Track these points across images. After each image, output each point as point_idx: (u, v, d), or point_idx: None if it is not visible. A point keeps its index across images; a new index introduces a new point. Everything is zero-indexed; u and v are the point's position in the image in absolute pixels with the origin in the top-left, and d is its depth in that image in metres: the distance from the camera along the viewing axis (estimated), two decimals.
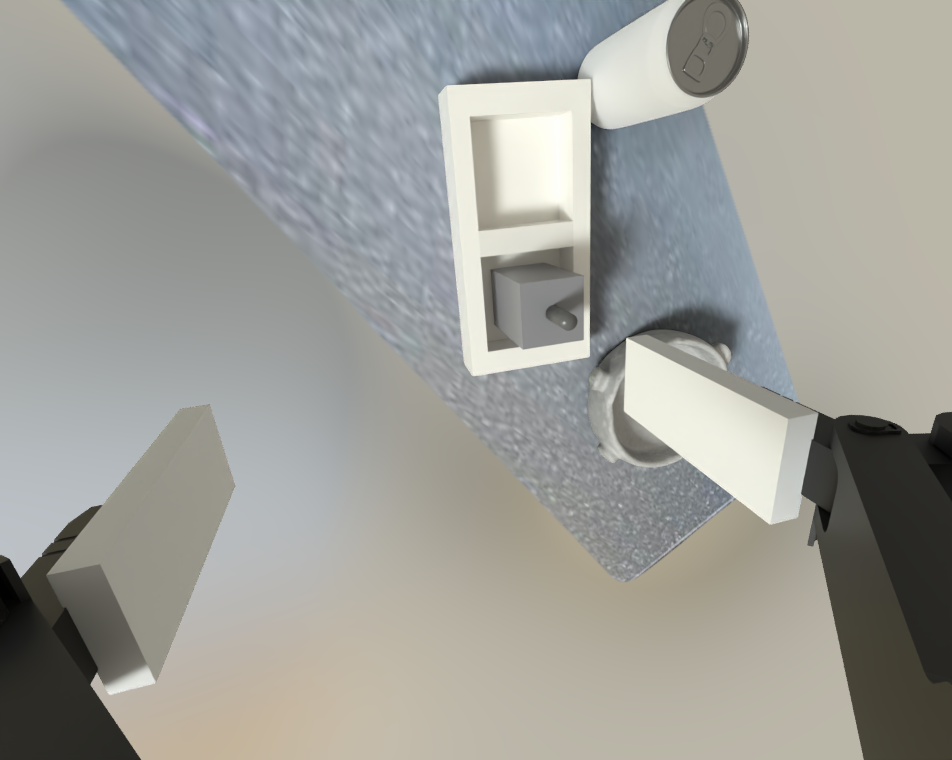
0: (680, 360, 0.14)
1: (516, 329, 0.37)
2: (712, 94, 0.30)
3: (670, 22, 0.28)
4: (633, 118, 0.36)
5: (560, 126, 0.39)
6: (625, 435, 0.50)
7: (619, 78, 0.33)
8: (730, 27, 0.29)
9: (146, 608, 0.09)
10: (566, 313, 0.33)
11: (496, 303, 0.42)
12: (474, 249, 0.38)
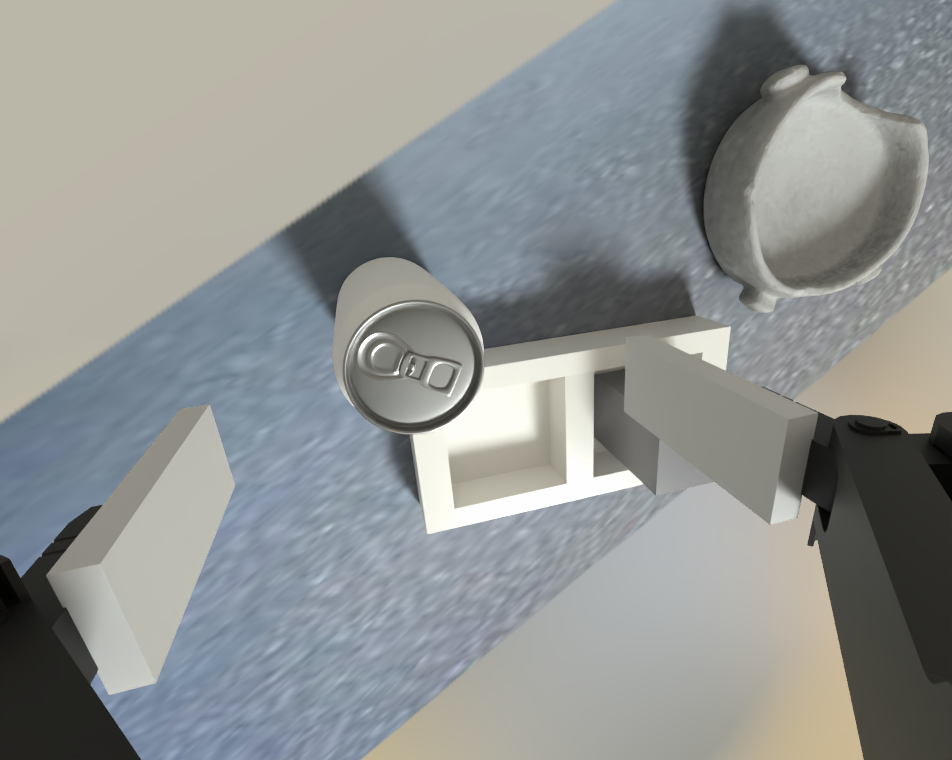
0: (680, 360, 0.14)
1: None
2: (480, 347, 0.19)
3: (392, 427, 0.20)
4: None
5: None
6: (844, 237, 0.34)
7: None
8: (386, 332, 0.19)
9: (146, 608, 0.09)
10: None
11: None
12: (584, 485, 0.34)
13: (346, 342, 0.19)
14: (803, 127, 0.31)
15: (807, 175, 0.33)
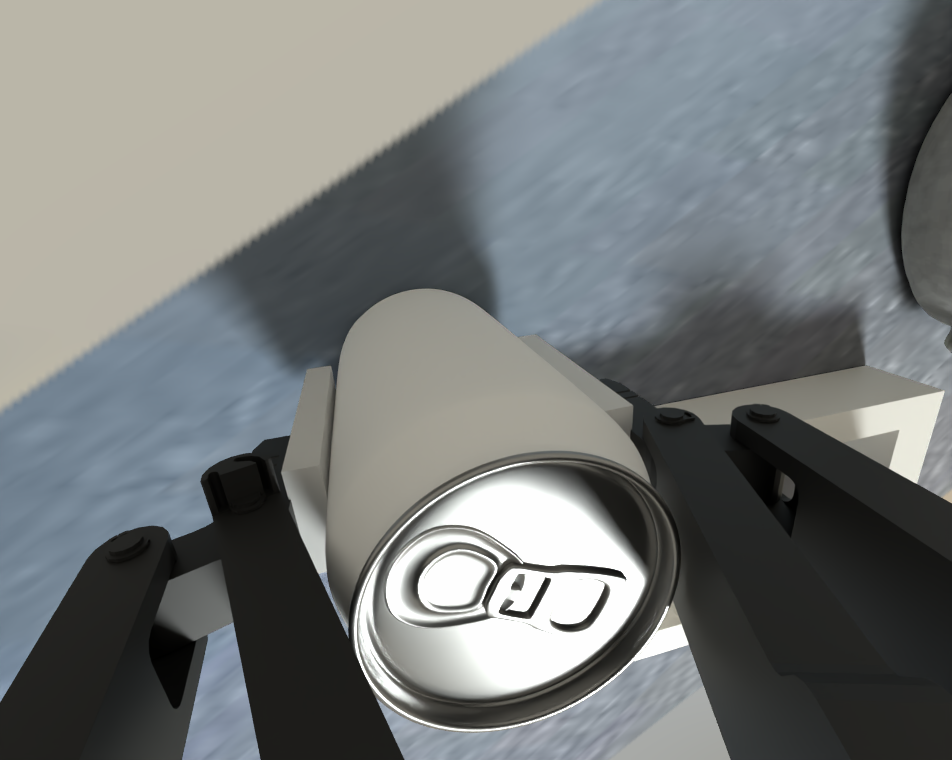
0: (548, 358, 0.15)
1: None
2: (676, 543, 0.08)
3: (462, 712, 0.09)
4: None
5: None
6: None
7: None
8: (458, 527, 0.07)
9: None
10: None
11: None
12: None
13: (359, 550, 0.07)
14: None
15: None
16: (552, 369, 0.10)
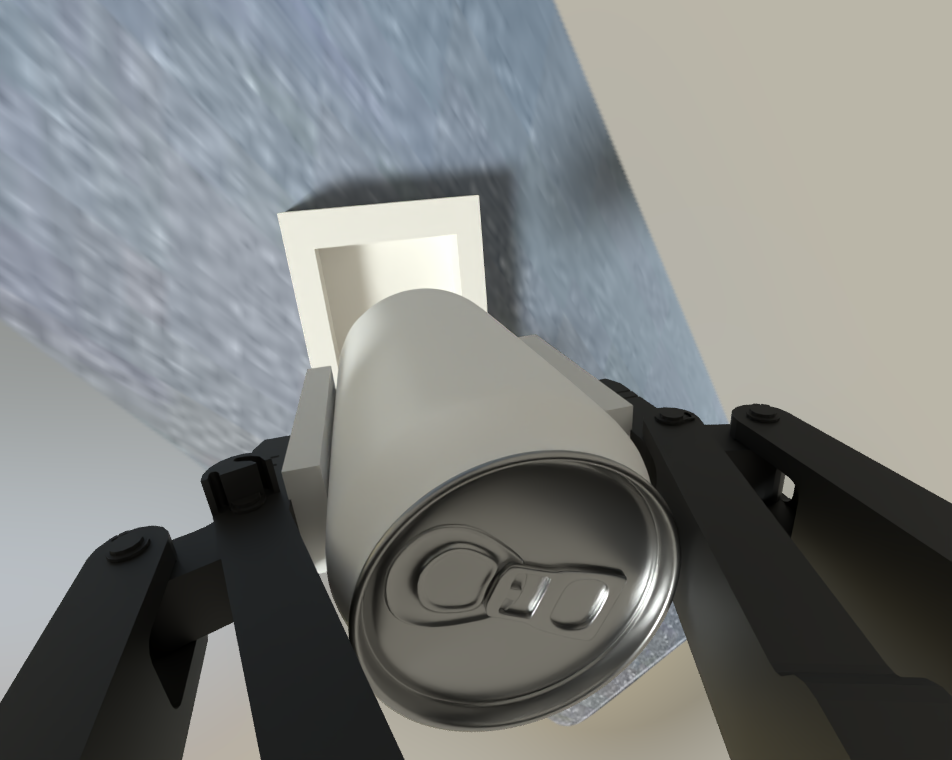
0: (548, 358, 0.15)
1: None
2: (676, 543, 0.08)
3: (462, 711, 0.09)
4: None
5: (450, 245, 0.30)
6: None
7: None
8: (458, 526, 0.07)
9: None
10: None
11: None
12: None
13: (359, 549, 0.07)
14: None
15: None
16: (552, 368, 0.10)
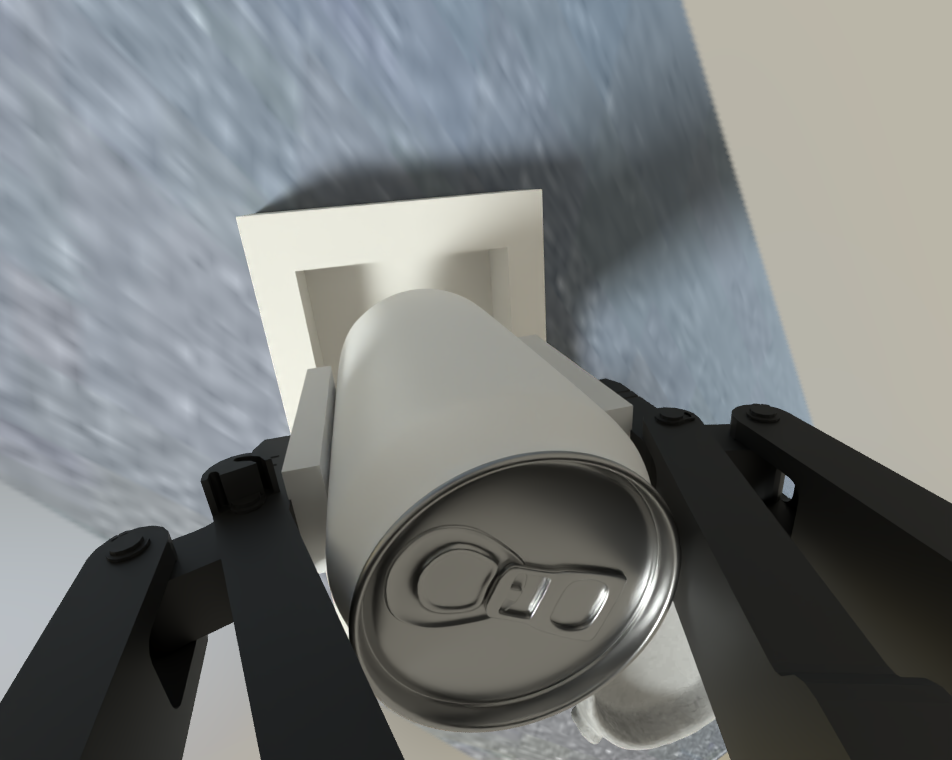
0: (548, 358, 0.15)
1: None
2: (676, 543, 0.08)
3: (462, 712, 0.09)
4: None
5: (492, 261, 0.21)
6: (614, 690, 0.32)
7: None
8: (459, 527, 0.07)
9: None
10: None
11: None
12: None
13: (359, 550, 0.07)
14: None
15: (666, 630, 0.33)
16: (552, 369, 0.10)
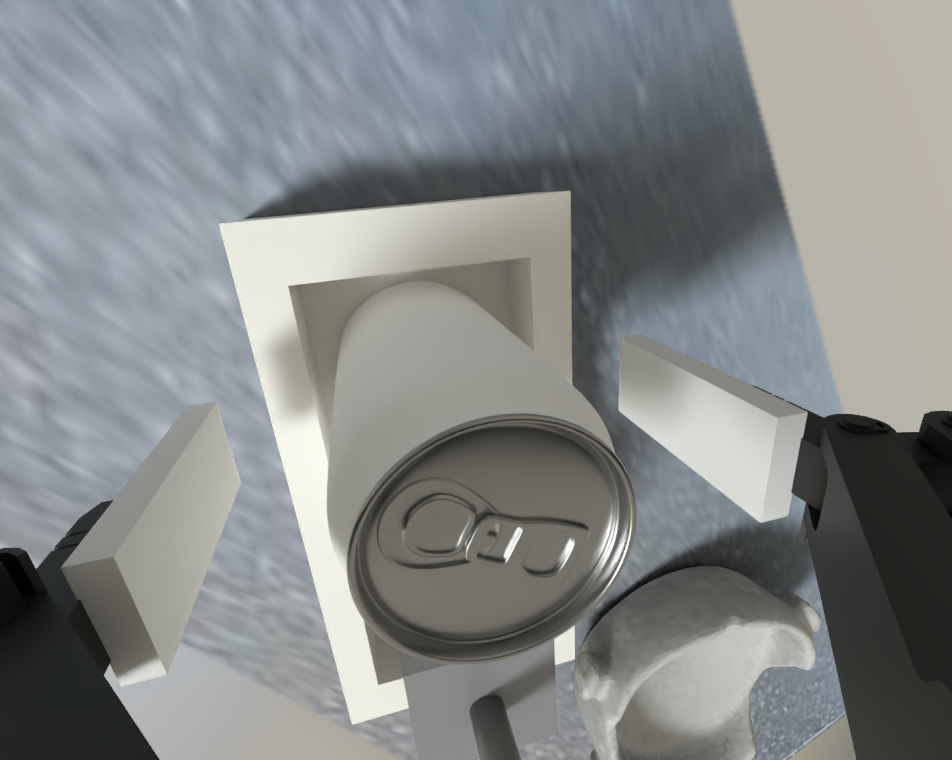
0: (673, 360, 0.14)
1: None
2: (632, 498, 0.09)
3: (446, 648, 0.10)
4: None
5: (511, 271, 0.19)
6: (637, 732, 0.30)
7: None
8: (441, 479, 0.09)
9: (157, 601, 0.09)
10: None
11: None
12: None
13: (356, 499, 0.09)
14: (741, 644, 0.30)
15: (692, 666, 0.30)
16: (530, 351, 0.12)
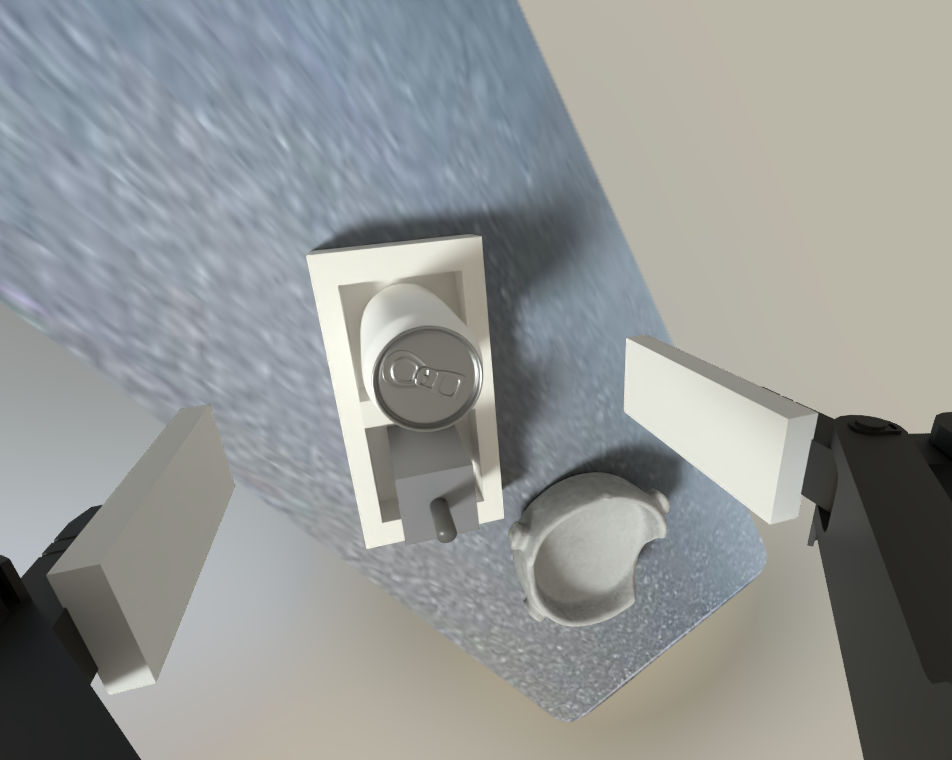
0: (680, 360, 0.14)
1: None
2: (479, 362, 0.24)
3: (409, 426, 0.25)
4: None
5: (456, 278, 0.34)
6: (555, 586, 0.45)
7: None
8: (405, 350, 0.24)
9: (146, 608, 0.09)
10: (443, 523, 0.28)
11: None
12: (356, 421, 0.33)
13: (374, 359, 0.24)
14: (625, 527, 0.45)
15: (593, 544, 0.45)
16: (448, 310, 0.27)
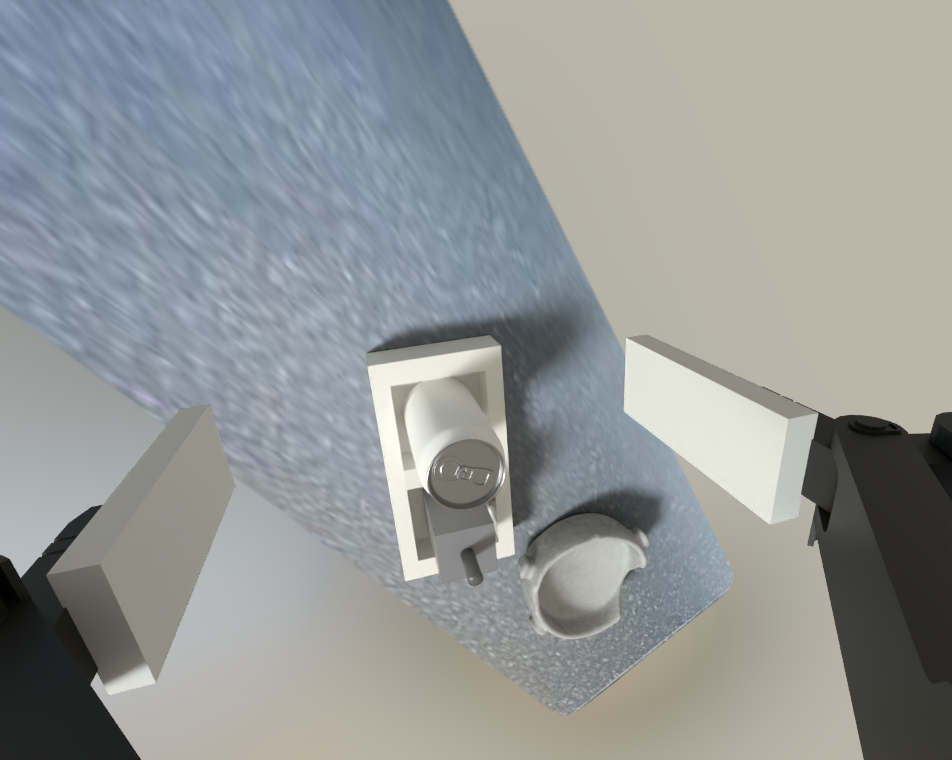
0: (680, 360, 0.14)
1: (436, 561, 0.42)
2: (503, 462, 0.33)
3: (451, 506, 0.34)
4: None
5: None
6: (555, 606, 0.54)
7: None
8: (451, 456, 0.33)
9: (146, 608, 0.09)
10: (473, 571, 0.38)
11: (426, 515, 0.46)
12: (400, 484, 0.43)
13: (428, 461, 0.33)
14: (613, 557, 0.54)
15: (587, 570, 0.55)
16: (478, 416, 0.36)
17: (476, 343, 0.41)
